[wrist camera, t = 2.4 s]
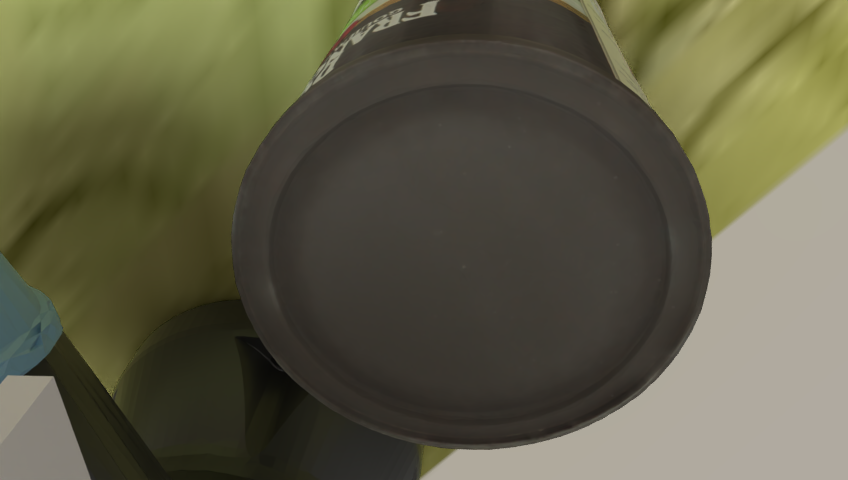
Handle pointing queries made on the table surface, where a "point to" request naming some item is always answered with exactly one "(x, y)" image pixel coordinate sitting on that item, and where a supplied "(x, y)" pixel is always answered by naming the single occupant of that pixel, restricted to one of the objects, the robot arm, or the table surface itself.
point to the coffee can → (472, 225)
